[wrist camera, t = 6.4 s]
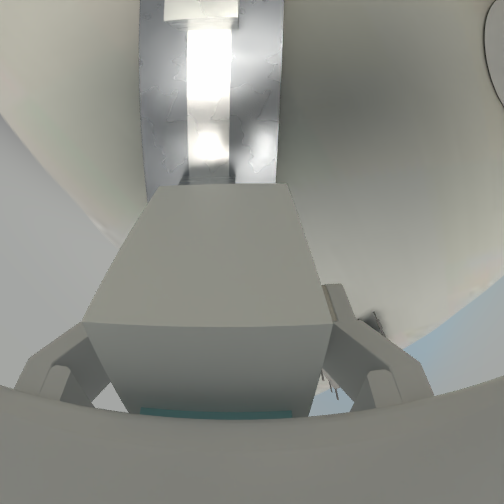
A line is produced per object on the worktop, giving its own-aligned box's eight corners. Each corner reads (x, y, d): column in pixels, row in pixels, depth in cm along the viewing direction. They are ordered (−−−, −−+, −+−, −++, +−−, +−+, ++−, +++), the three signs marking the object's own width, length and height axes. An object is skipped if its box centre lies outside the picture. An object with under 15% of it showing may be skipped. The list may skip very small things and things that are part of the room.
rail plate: (283, -35, 16) (297, -68, 10) (270, 238, 28) (277, 284, 22) (147, -30, 15) (117, -57, 10) (156, 237, 27) (136, 281, 22)
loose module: (287, 183, 10) (337, 337, 4) (278, 324, 13) (294, 470, 8) (159, 186, 10) (75, 334, 4) (181, 324, 13) (158, 467, 8)
